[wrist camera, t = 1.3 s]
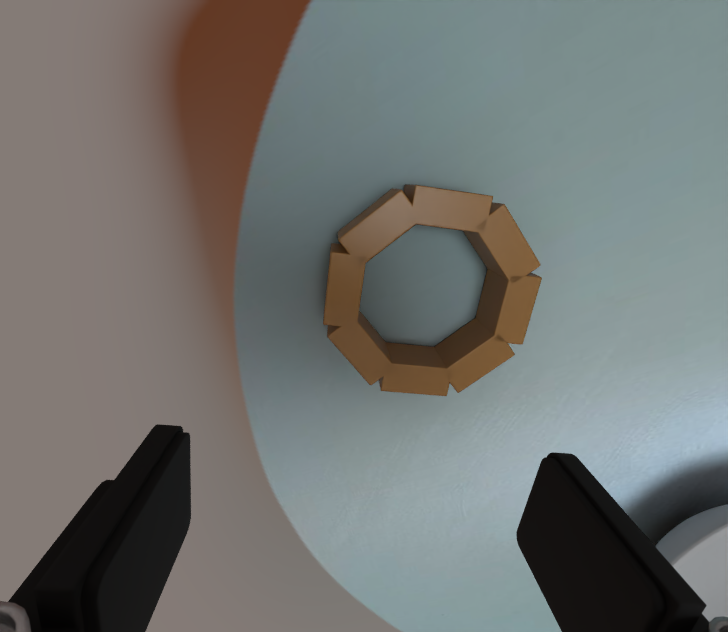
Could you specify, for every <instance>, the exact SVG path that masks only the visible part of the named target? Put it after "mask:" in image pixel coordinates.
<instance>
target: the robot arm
mask: <svg viewBox="0 0 728 632" xmlns="http://www.w3.org/2000/svg"><path fill="white" fill-rule="evenodd" d="M190 519H191V486H190V435H189V433H184V432H183V429H182V427H181V426H172V425H156V426H155V427H154V428H153V429H152V430H151V431H150V433H149V434H148V435H147V437H146V438H145V440H144V441H143V442H142V444H141V445H140V446H139V448H138V449H137V450H136V452H135V453H134V454H133V456H132V457H131V458H130V460H129V461H128V462H127V464H126V465H125V467H124V468H123V469H122V470H121V472H120V473H119V475H118V476H117V478H116V479H115V480H106V481H104V482H102V483H101V484H100V485H99V486H98V487H97V488H96V490H95V491H94V492H93V493H92V495H91V496H90V497H89V499H88V500H87V501H86V502H85V504H84V505H83V506H82V508H81V509H80V510H79V511H78V513H77V514H76V515H75V517H74V518H73V519H72V521H71V522H70V523H69V524H68V526H67V527H66V528H65V530H64V531H63V532H62V533H61V535H60V536H59V537H58V538H57V540H56V541H55V542H54V544H53V545H52V546H51V547H50V549H49V550H48V551H47V552H46V554H45V555H44V556H43V558H42V559H41V560H40V562H39V563H38V564H37V565H36V567H35V568H34V569H33V570H32V572H31V573H30V574H29V576H28V577H27V578H26V579H25V581H24V582H23V583H22V585H21V586H20V587H19V588H18V590H17V591H16V592H15V594H14V595H13V596H12V597H11V599H10V600H9V601H8V602H2V601H1V602H0V632H145V631H146V629H147V626H148V624H149V622H150V619H151V617H152V614H153V612H154V610H155V607H156V605H157V603H158V600H159V598H160V595H161V593H162V591H163V588H164V586H165V583H166V581H167V579H168V577H169V574H170V572H171V569H172V567H173V565H174V562H175V560H176V558H177V555H178V553H179V550H180V548H181V546H182V543H183V541H184V539H185V536H186V534H187V531H188V528H189V524H190ZM517 542H518V545H519V547H520V549H521V551H522V553H523V555H524V557H525V559H526V561H527V563H528V565H529V567H530V569H531V571H532V573H533V575H534V577H535V579H536V581H537V583H538V585H539V587H540V589H541V591H542V593H543V595H544V597H545V599H546V601H547V603H548V605H549V607H550V609H551V611H552V613H553V615H554V617H555V619H556V621H557V623H558V625H559V627H560V629H561V631H562V632H728V617H725V616H721V617H714V618H713V619H712V620H711V621H710V622H709V621H708V620H707V619H706V618H705V616H704V615H703V614H702V612H703V611H704V609H705V607H706V606H707V605H706V604H705V603H704V602H703V600H702V599H701V598H700V597H699V596H698V595H697V594H696V592H695V591H694V590H693V589H692V588H691V587H690V586H689V584H688V583H687V582H686V581H685V580H684V579H683V578H682V577H681V575H680V574H679V573H678V572H677V571H676V570H675V569H674V567H673V566H672V565H671V564H670V563H669V562H668V561H667V559H666V558H665V557H664V556H663V555H662V554H661V553H660V551H659V550H658V549H657V548H656V547H655V546H654V545H653V543H652V542H651V541H650V540H649V539H648V538H647V537H646V535H645V534H644V533H643V532H642V531H641V530H640V529H639V528H638V526H637V525H636V524H635V523H634V522H633V521H632V520H631V518H630V517H629V516H628V515H627V514H626V513H625V512H624V510H623V509H622V508H621V507H620V506H619V505H618V504H617V502H616V501H615V500H614V499H613V498H612V497H611V496H610V494H609V493H608V492H607V491H606V490H605V489H604V488H603V486H602V485H601V484H600V483H599V482H598V481H597V480H596V478H595V477H594V476H593V475H592V474H591V473H590V472H589V471H588V469H587V468H586V467H585V466H584V465H583V464H582V463H581V461H580V460H579V459H578V458H577V457H576V456H575V455H573V454H566V453H550V454H549V455H548V456H547V458H544V459H542V461H541V464H540V467H539V470H538V472H537V475H536V478H535V481H534V484H533V487H532V490H531V492H530V495H529V498H528V501H527V504H526V507H525V509H524V512H523V515H522V518H521V521H520V524H519V527H518V529H517Z"/></svg>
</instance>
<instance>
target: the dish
mask: <svg viewBox="0 0 728 632" xmlns="http://www.w3.org/2000/svg"><path fill="white" fill-rule="evenodd" d="M655 547H656V548H657V549H658V550H659V551H660V553H661V554H662V555H663V556H664V557H665V558H666V559H667V561H668V562H669V563H670V564H671V565H672V566H673V567H674V569H675V570H676V571H677V572H678V573H679V574H680V575H681V577H682V578H683V579H684V580H685V581H686V582H687V583H688V584H689V586H690V587H691V588H692V589H693V590H694V591H695V592H696V594H697V595H698V596H699V597H700V598H701V599H702V600H703V602H704V603H705V604H706V605H707V606H706V607H705V609H704V611H703V612H702V614H703V615H704V616H705V618H706V619H707V620H708V621H709V622H710V621H711V620H712V619H713V618H714V617H721V616H725V617H728V504H727V505H722V506H718V507H714V508H711V509H708V510H705V511H703V512H700V513H698V514H696V515H694V516H692V517H690V518H688V519H687V520H685V521H683V522H682V523H680V524H679V525H677V526H676V527H675V528H673V529H672V530H671V531H670V532H668V533H667V534H666V535H665V536H664V537H663V538H662V539H661V540H660V541H659V542H658V543H657V545H656V546H655Z"/></svg>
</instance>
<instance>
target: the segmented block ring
mask: <svg viewBox="0 0 728 632" xmlns="http://www.w3.org/2000/svg"><path fill="white" fill-rule="evenodd" d="M492 200H493V196H488V195H482V194H475V193H468V192H461V191H454V190H447V189H440V188H433V187H426V186H420V185H405V187H404V192H403V190H401V189H391V190H390V191H388V192H387V193H386V194H385V195H383V196H382V197H381V198H380V199H378V200H377V201H376V202H375V203H373V204H372V205H371V206H370V207H368V208H367V209H366V210H365V211H363V212H362V213H361V214H359V215H358V216H357V217H356V218H354V219H353V220H352V221H351V222H349V223H348V224H347V225H346V226H344V227H343V228H342V229H341V230H339V231H338V240H339V242H340V243H341V244H337V243H332V244H331V251H330V260H329V270H328V279H327V288H326V298H325V307H324V319H323V324H324V325H328V332H327V337H328V338H329V339H330V340H331V341H332V343H333V344H334V345H335V346H336V347H337V348H338V349H339V351H340V352H341V353H342V354H343V355H344V356H345V357H346V358H347V360H348V361H349V362H350V363H351V364H352V365H353V366H354V368H355V369H356V370H357V371H358V372H359V373H360V374H361V375H362V377H363V378H364V379H365V380H366V381H367V382H368V383H369V385H372V384H373V383H375V382H376V381H378V380H379V384H380V388H381V391H390V392H402V393H414V394H426V395H439V396H447V392H448V388H449V384H451V385H452V386H453V387H454V389H455V390H456V391H457V392H458V393H459V392H460V391H462V390H463V389H465V388H466V387H468V386H469V385H471V384H472V383H474V382H475V381H477V380H478V379H480V378H481V377H483V376H484V375H486V374H487V373H489V372H490V371H492V370H493V369H495V368H496V367H497V366H499V365H500V364H502V363H503V362H505V361H506V360H508V359H509V358H511V357H512V356H514V355H515V354H514V352H513V351H512V349H511V348H510V346H509V345H508V343H512V344H523V341H524V337H525V334H526V331H527V327H528V324H529V320H530V317H531V313H532V310H533V307H534V303H535V300H536V296H537V293H538V289H539V286H540V283H541V279H542V278H541V277H539V276H537V275H535V274H533V273H531V272H532V271H533V270H535V269H536V268H537V267H539V266H540V263H539V261H538V260H537V258H536V256H535V254H534V253H533V251H532V249H531V248H530V246H529V244H528V243H527V241H526V239H525V238H524V236H523V234H522V233H521V231H520V229H519V228H518V226H517V224H516V223H515V221H514V219H513V218H512V216H511V214H510V212H509V211H508V209H507V207H506V206H505V204H500V203H493V202H492ZM416 224H418V225H426V226H433V227H441V228H448V229H455V230H463V232H464V233H465V235H466V236H467V238H468V240H469V241H470V243H471V244H472V246H473V247H474V249H475V250H476V252H477V253H478V255H479V256H480V258H481V259H482V261H483V263H484V264H485V266H486V267H487V273H486V277H485V281H484V285H483V289H482V294H481V298H480V302H479V306H478V310H477V314H476V318H475V319H473V320H472V321H470V322H469V323H467V324H466V325H465V326H463V327H462V328H460V329H459V330H457V331H456V332H455V333H453V334H452V335H450V336H449V337H448V338H446V339H445V340H443V341H442V342H440V343H439V344H438V345H436V346H435V347H429V346H419V345H409V344H398V343H388V342H385V341H384V340H383V339H382V337H381V336H380V335H379V334H378V333H377V331H376V330H375V329H374V328H373V326H372V325H371V324H370V323H369V322H368V320H367V319H366V318H365V317H364V315H363V314H362V313H361V312H360V311H359V308H360V300H361V293H362V286H363V279H364V271H365V264H366V262H368V261H369V260H370V259H372V258H373V257H374V256H376V255H377V254H378V253H379V252H381V251H382V250H383V249H385V248H386V247H387V246H389V245H390V244H391V243H392V242H394V241H395V240H396V239H398V238H399V237H400V236H402V235H403V234H404V233H405V232H407V231H408V230H409V229H411V228H412V227H413V226H415V225H416Z"/></svg>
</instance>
